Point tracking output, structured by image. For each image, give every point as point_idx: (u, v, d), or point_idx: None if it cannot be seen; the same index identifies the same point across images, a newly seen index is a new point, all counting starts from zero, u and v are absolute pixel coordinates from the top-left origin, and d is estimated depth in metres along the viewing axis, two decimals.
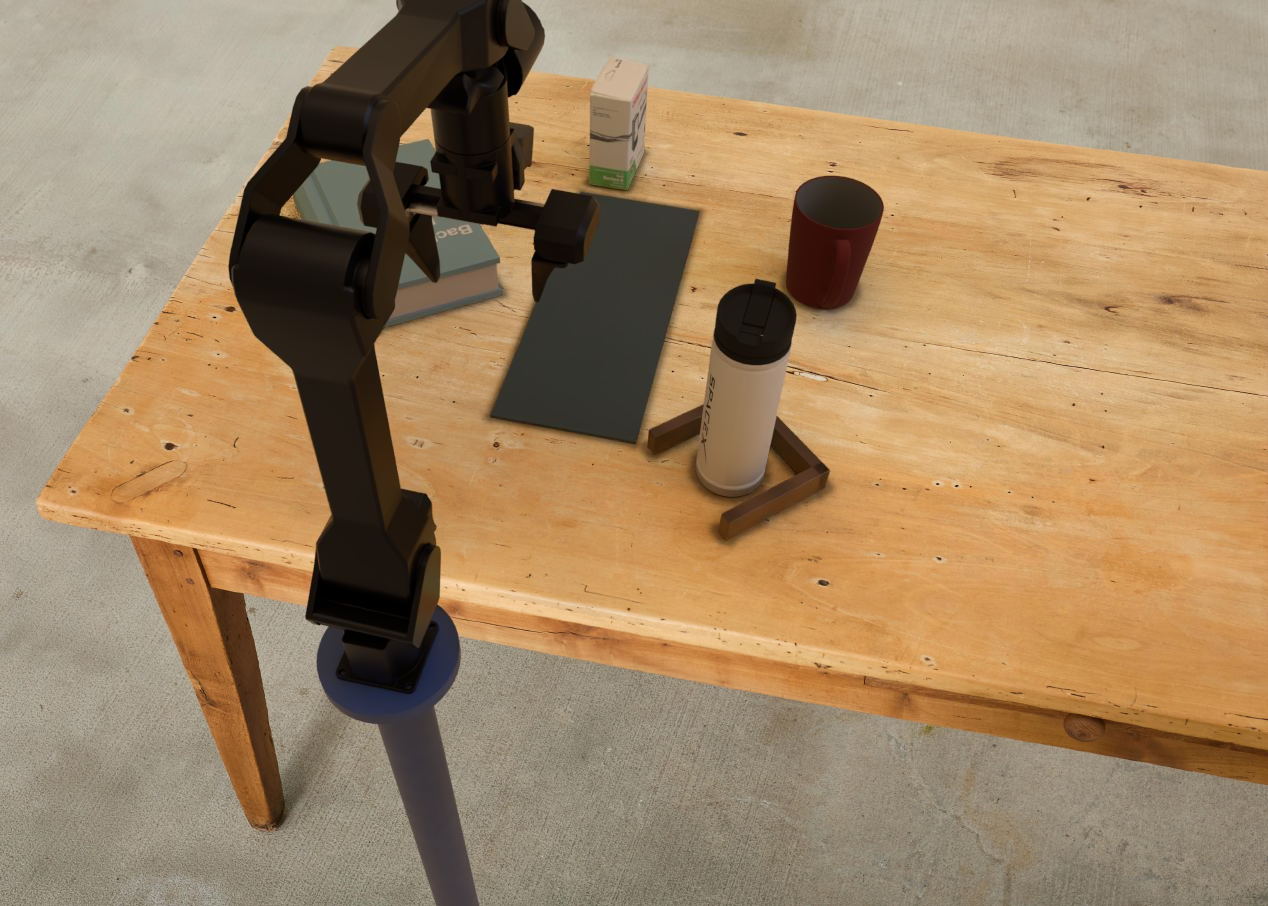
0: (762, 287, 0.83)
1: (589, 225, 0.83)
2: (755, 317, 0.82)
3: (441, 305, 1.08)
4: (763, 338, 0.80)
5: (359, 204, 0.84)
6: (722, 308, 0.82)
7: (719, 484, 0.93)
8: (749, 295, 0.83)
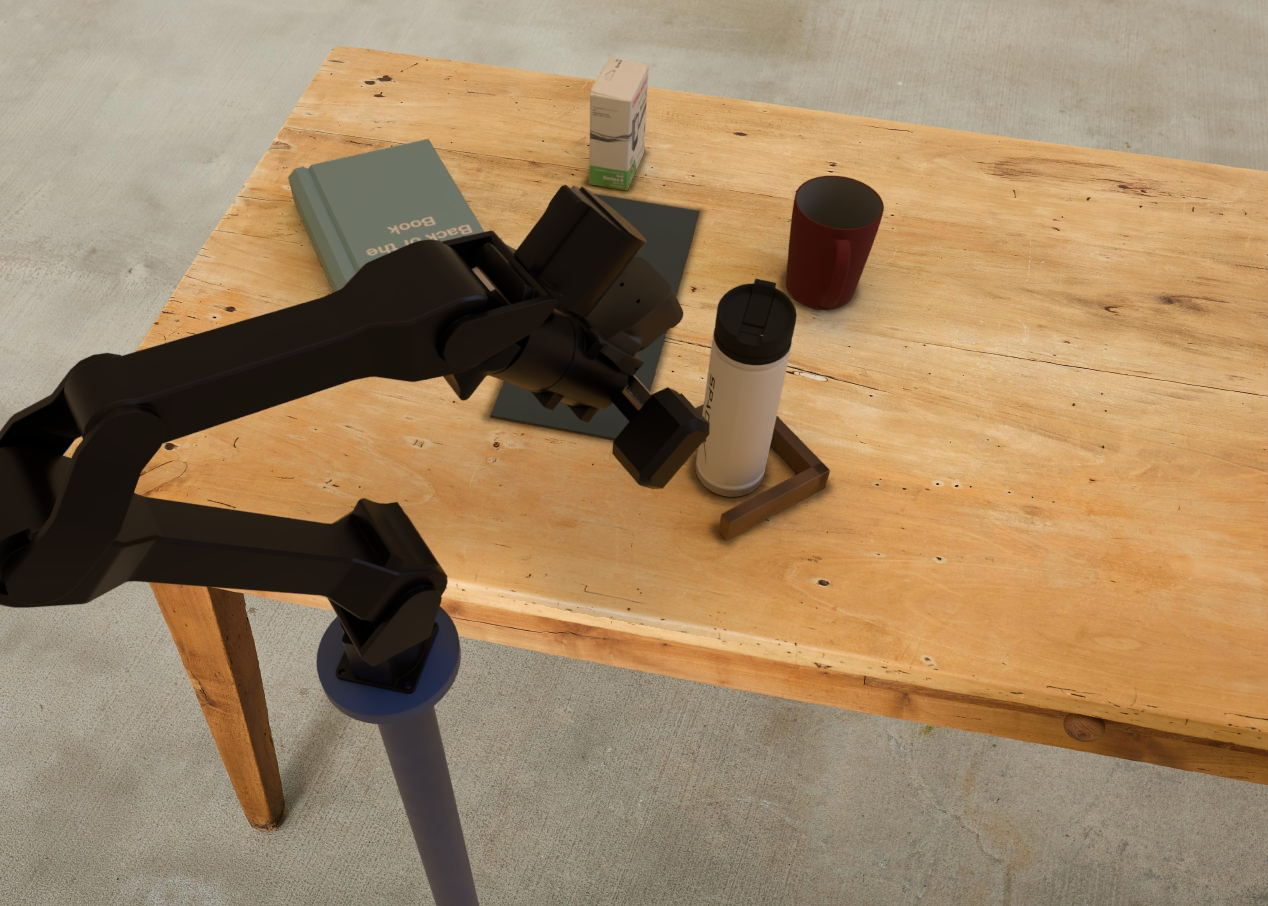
0: (762, 287, 0.83)
1: (663, 463, 0.71)
2: (755, 317, 0.82)
3: None
4: (763, 338, 0.80)
5: None
6: (722, 308, 0.82)
7: (719, 484, 0.93)
8: (749, 295, 0.83)
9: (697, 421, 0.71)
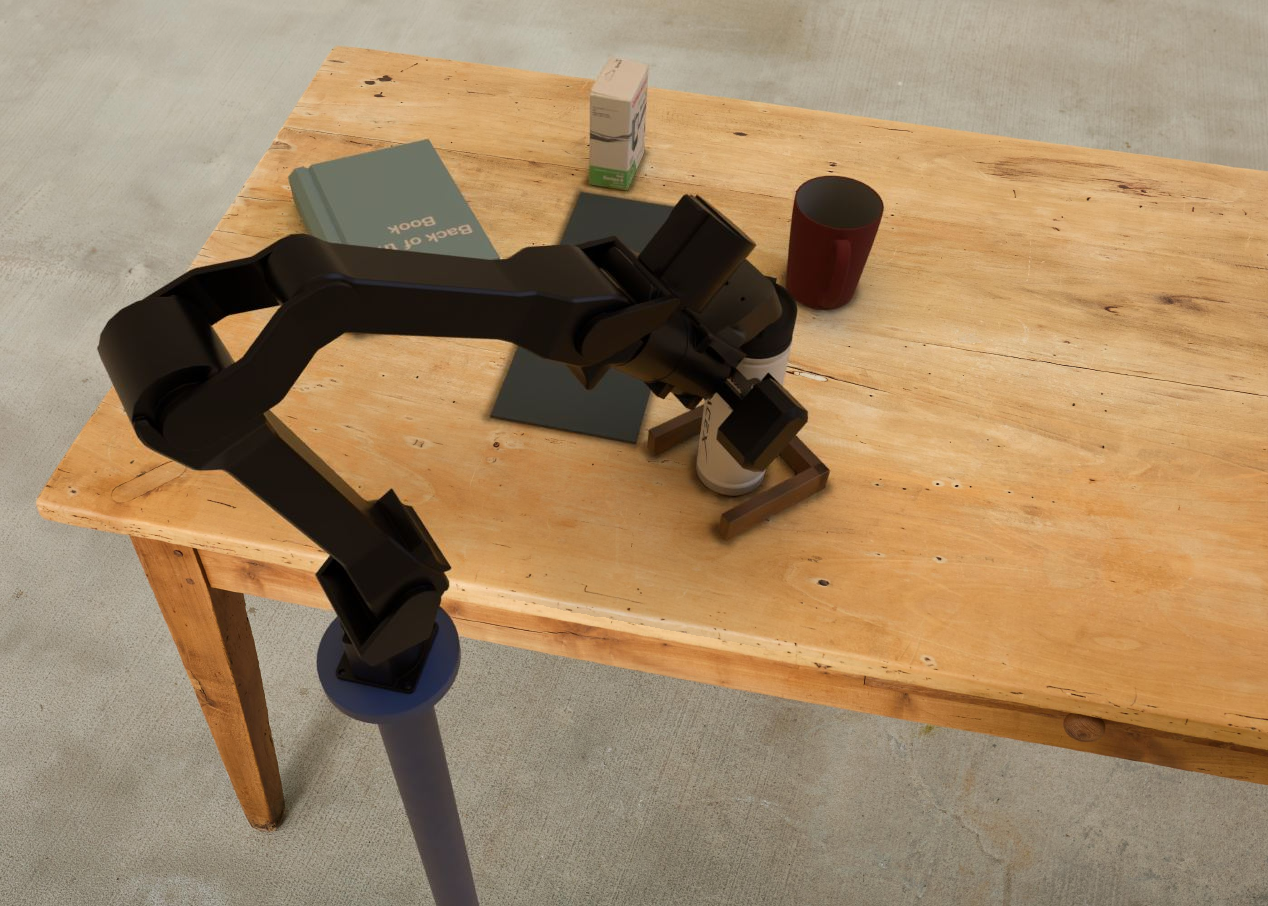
0: None
1: (766, 448, 0.77)
2: None
3: None
4: (764, 331, 0.80)
5: None
6: None
7: (720, 482, 0.93)
8: None
9: (798, 409, 0.77)
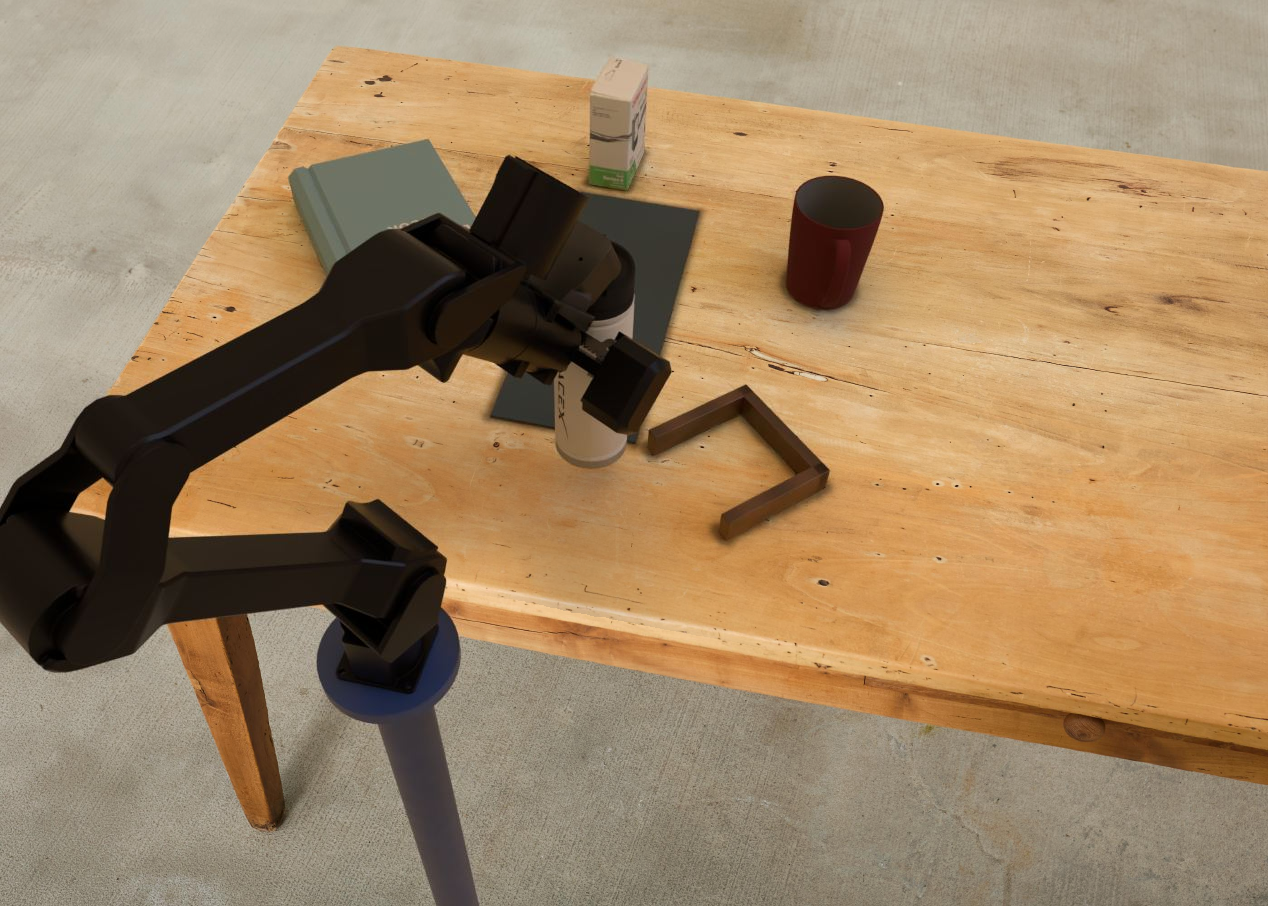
0: None
1: (637, 407, 0.74)
2: None
3: None
4: (607, 290, 0.77)
5: None
6: None
7: (585, 457, 0.89)
8: None
9: (660, 361, 0.74)
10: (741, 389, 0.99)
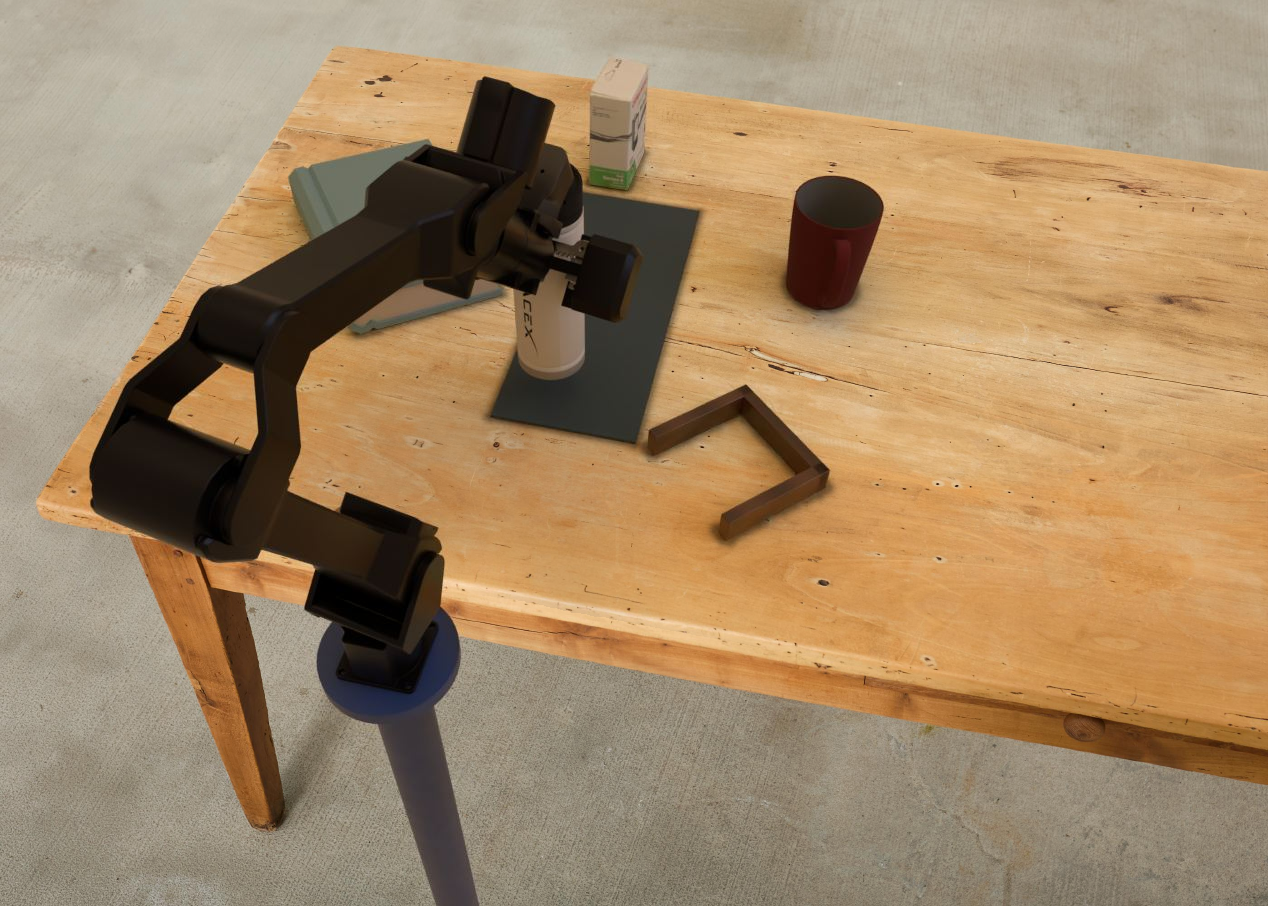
0: None
1: (625, 293, 0.82)
2: None
3: (441, 305, 1.08)
4: None
5: None
6: None
7: (556, 368, 0.96)
8: None
9: (635, 247, 0.82)
10: (741, 389, 0.99)
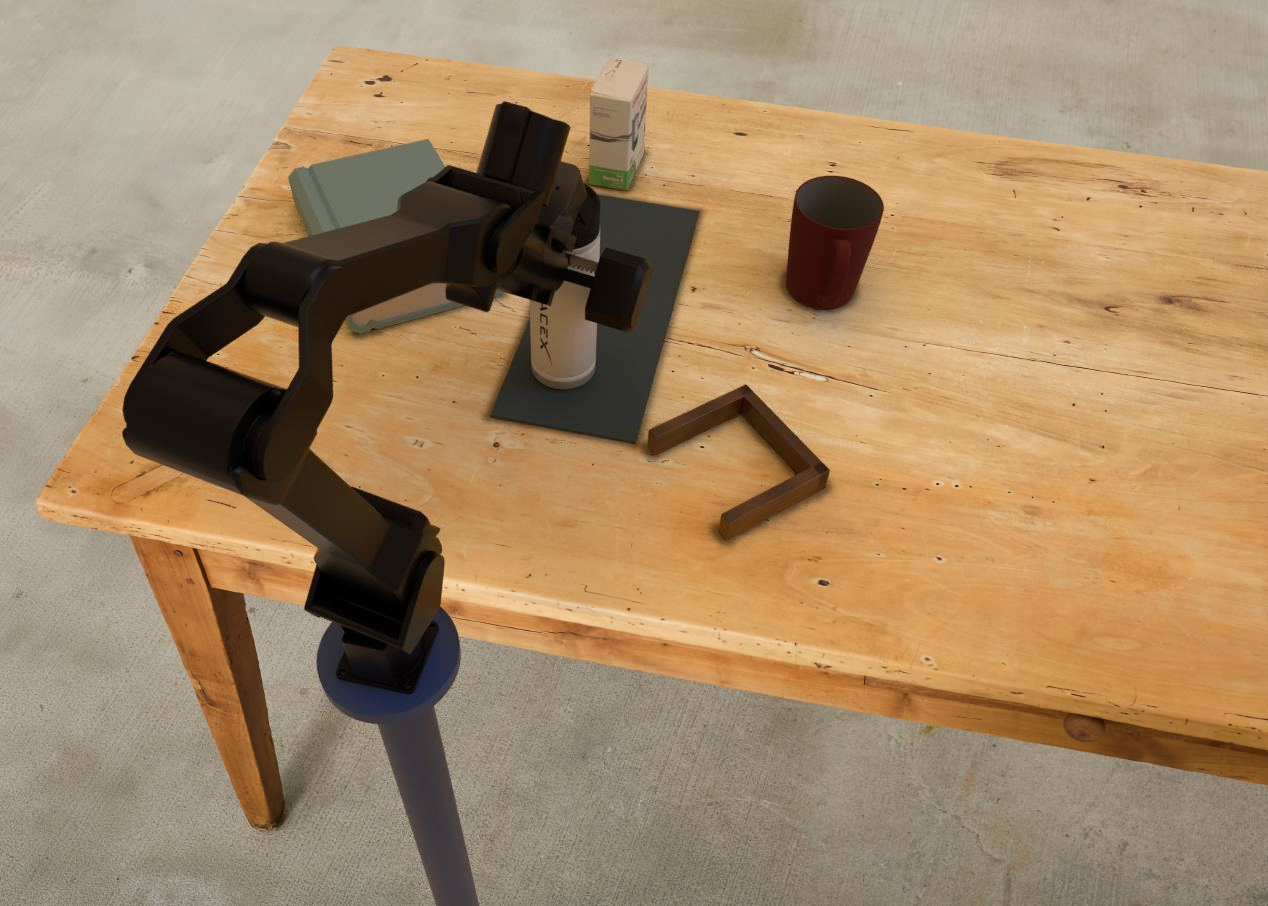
0: None
1: (635, 303, 0.86)
2: None
3: (441, 305, 1.08)
4: (584, 219, 0.88)
5: None
6: None
7: (568, 378, 1.00)
8: None
9: (645, 260, 0.86)
10: (741, 389, 0.99)
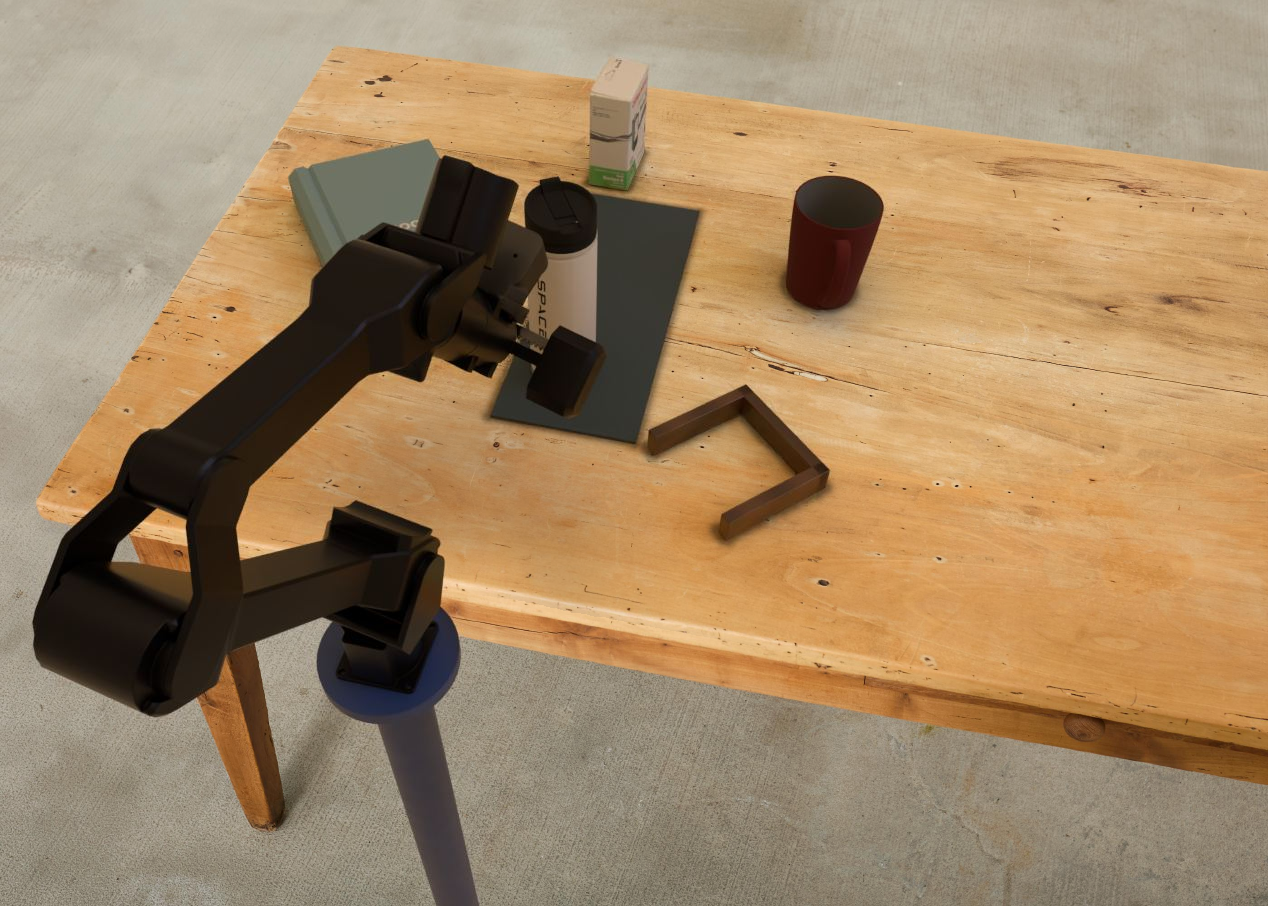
0: (550, 184, 0.90)
1: (581, 390, 0.79)
2: (560, 210, 0.89)
3: None
4: (580, 223, 0.88)
5: None
6: (530, 214, 0.88)
7: None
8: (542, 195, 0.90)
9: (599, 346, 0.80)
10: (741, 389, 0.99)
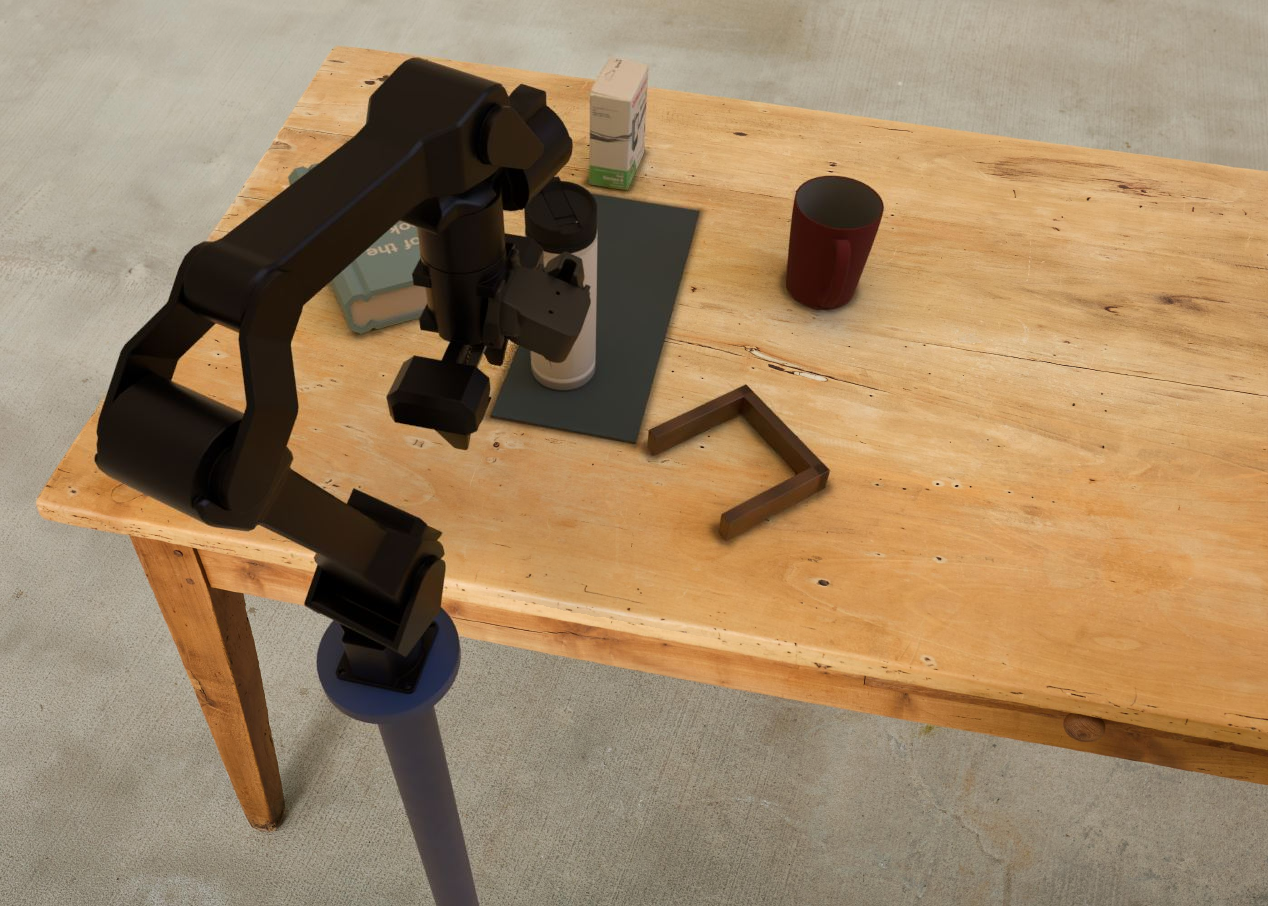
0: (550, 184, 0.90)
1: (417, 406, 0.70)
2: (560, 210, 0.89)
3: None
4: (580, 223, 0.88)
5: None
6: (530, 214, 0.88)
7: (568, 379, 1.00)
8: (542, 195, 0.90)
9: (472, 416, 0.70)
10: (741, 389, 0.99)
